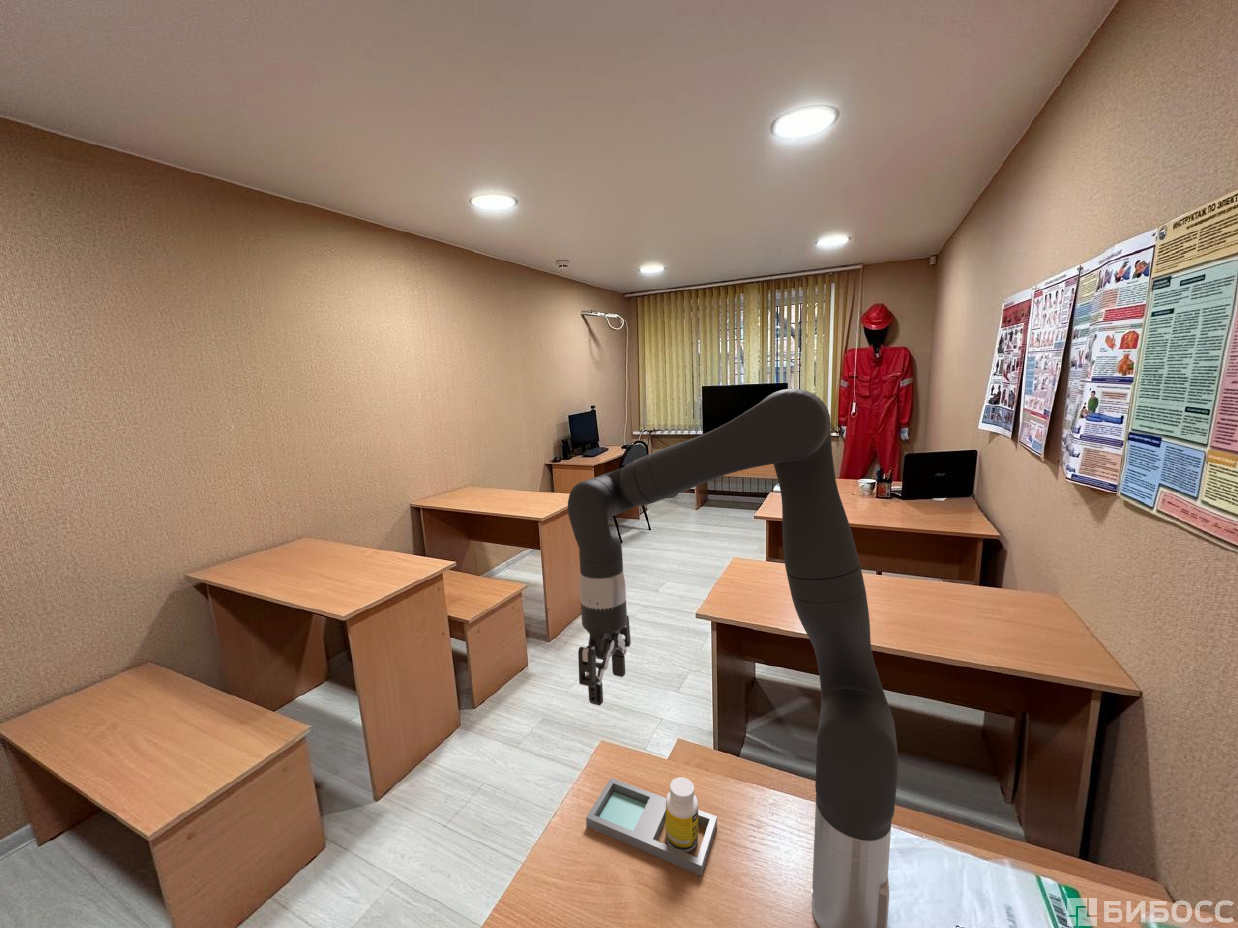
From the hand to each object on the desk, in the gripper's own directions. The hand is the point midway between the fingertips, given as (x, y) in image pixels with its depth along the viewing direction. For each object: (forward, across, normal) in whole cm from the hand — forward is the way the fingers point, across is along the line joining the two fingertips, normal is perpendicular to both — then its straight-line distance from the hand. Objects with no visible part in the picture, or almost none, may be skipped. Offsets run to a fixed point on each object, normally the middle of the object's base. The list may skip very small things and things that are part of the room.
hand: (608, 688), depth 80 cm
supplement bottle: (+26, +2, -12) cm, 28 cm away
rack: (+25, +2, -6) cm, 26 cm away
